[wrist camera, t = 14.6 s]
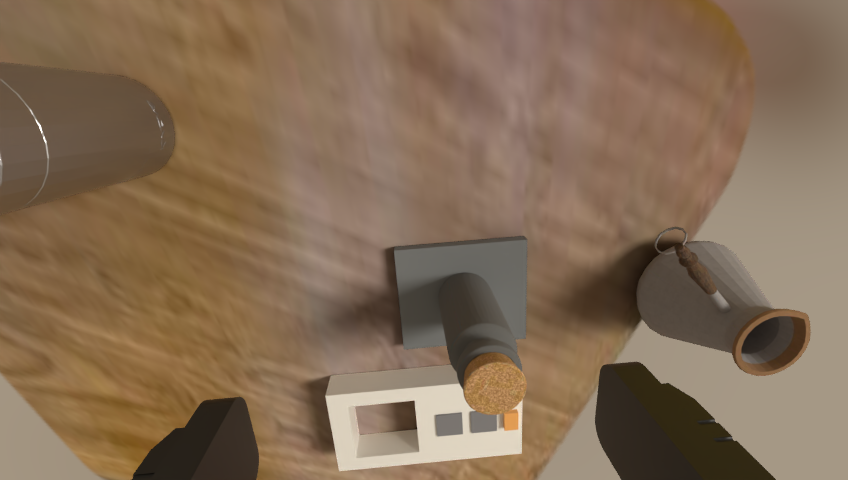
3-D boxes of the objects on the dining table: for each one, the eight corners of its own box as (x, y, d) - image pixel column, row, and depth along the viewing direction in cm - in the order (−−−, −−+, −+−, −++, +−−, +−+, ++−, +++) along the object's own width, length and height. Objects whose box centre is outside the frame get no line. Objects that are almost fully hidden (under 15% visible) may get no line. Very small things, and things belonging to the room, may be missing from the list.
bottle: (471, 328, 44) (503, 433, 30) (427, 304, 43) (440, 401, 29) (501, 288, 43) (550, 378, 29) (457, 262, 42) (486, 342, 28)
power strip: (343, 447, 50) (338, 475, 47) (330, 375, 47) (324, 399, 43) (513, 430, 51) (522, 457, 47) (514, 358, 47) (524, 381, 44)
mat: (403, 343, 46) (403, 349, 45) (394, 246, 42) (393, 250, 41) (522, 332, 46) (525, 338, 45) (523, 236, 43) (527, 239, 41)
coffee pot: (742, 273, 45) (897, 349, 31) (665, 341, 48) (776, 440, 34) (623, 152, 40) (744, 177, 26) (544, 236, 43) (614, 300, 28)
